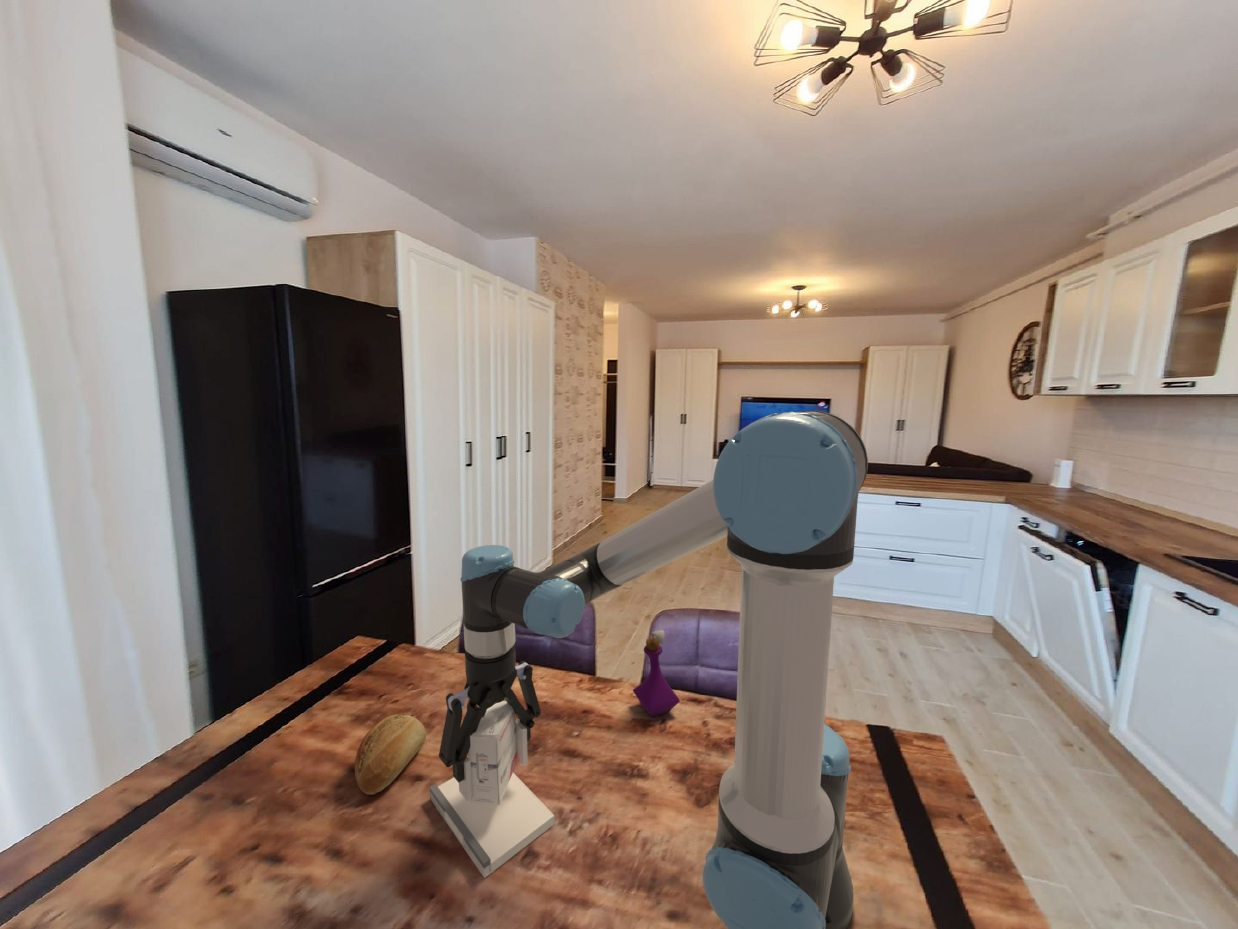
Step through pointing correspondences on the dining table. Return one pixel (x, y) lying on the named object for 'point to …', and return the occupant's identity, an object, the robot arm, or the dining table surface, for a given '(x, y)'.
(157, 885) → the dining table surface
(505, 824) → the white flat slab
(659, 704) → the perfume bottle
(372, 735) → the bread roll
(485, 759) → the ink box
